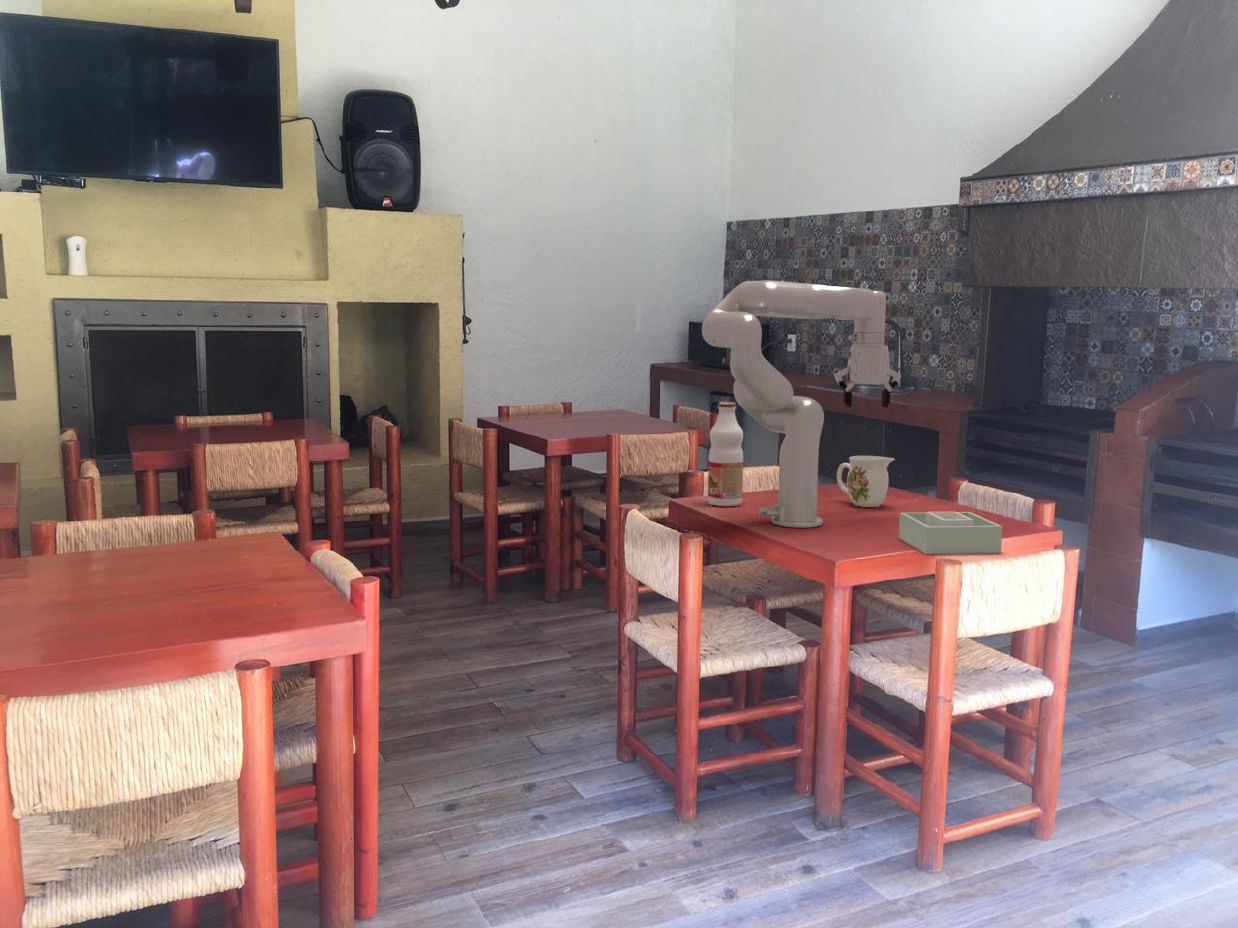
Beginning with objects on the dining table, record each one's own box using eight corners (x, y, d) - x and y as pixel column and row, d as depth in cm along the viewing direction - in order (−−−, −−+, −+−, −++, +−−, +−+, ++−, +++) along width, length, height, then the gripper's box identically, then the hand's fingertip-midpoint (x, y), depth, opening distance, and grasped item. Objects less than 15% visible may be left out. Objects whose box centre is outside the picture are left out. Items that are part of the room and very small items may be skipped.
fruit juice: (737, 508, 285) (739, 404, 281) (703, 506, 288) (705, 403, 285) (745, 503, 294) (748, 401, 290) (712, 500, 297) (714, 400, 293)
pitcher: (848, 498, 302) (850, 450, 300) (903, 507, 289) (905, 457, 287) (824, 503, 295) (826, 454, 293) (880, 512, 282) (882, 460, 280)
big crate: (925, 554, 233) (927, 527, 232) (898, 537, 249) (899, 512, 248) (1000, 553, 234) (1002, 526, 233) (968, 537, 251) (970, 512, 250)
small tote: (941, 546, 236) (943, 520, 236) (924, 537, 246) (926, 511, 245) (972, 546, 237) (973, 519, 236) (954, 536, 247) (955, 511, 246)
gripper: (840, 340, 267) (837, 408, 269) (907, 340, 268) (904, 408, 271) (831, 339, 274) (829, 405, 276) (897, 339, 276) (894, 405, 278)
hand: (866, 406), depth 273 cm, fingers open, 9 cm apart
